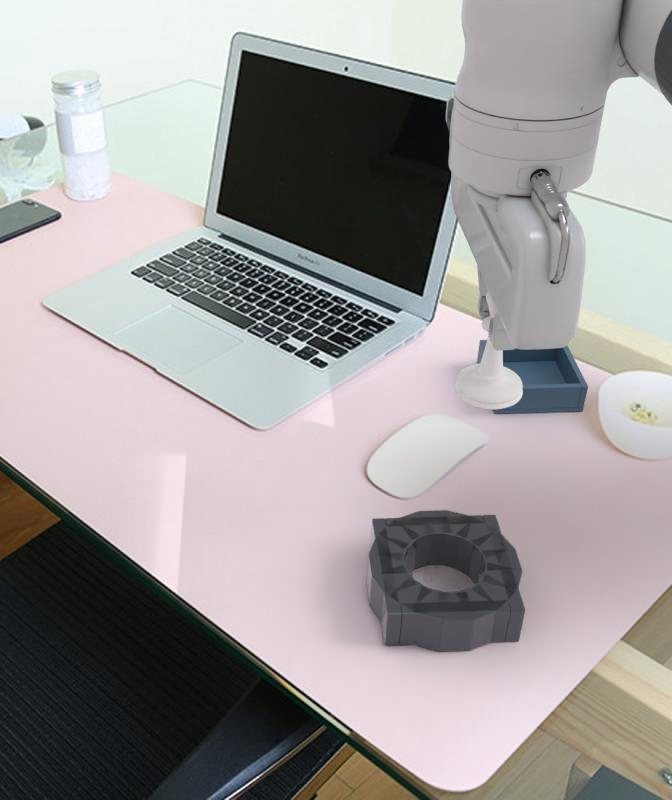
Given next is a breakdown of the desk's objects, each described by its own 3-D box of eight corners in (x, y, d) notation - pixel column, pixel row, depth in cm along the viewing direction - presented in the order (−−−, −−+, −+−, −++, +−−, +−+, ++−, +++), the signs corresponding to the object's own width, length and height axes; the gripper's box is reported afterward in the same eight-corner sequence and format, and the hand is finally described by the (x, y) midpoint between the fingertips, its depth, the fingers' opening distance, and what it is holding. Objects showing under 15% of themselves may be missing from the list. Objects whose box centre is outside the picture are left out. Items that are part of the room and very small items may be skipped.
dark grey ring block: (497, 538, 79) (502, 507, 77) (530, 648, 70) (537, 617, 68) (360, 543, 79) (362, 512, 77) (376, 654, 70) (379, 622, 68)
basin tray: (558, 361, 100) (563, 337, 98) (582, 411, 93) (588, 386, 91) (476, 363, 100) (479, 339, 98) (494, 414, 93) (498, 389, 91)
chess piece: (517, 415, 68) (537, 293, 62) (448, 402, 69) (461, 281, 63) (527, 376, 71) (546, 258, 65) (461, 365, 73) (474, 248, 67)
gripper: (630, 213, 50) (585, 419, 59) (531, 85, 67) (508, 260, 75) (511, 218, 50) (483, 424, 59) (442, 89, 67) (428, 263, 75)
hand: (496, 331), depth 67 cm, fingers closed on chess piece
